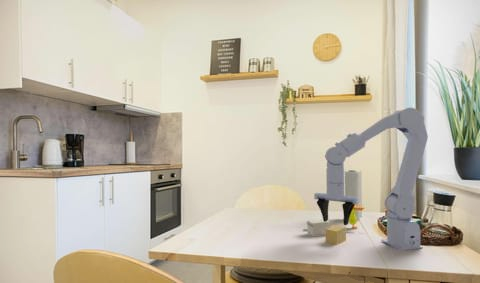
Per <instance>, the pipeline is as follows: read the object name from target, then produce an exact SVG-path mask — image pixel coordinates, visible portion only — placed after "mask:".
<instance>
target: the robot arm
mask: <svg viewBox="0 0 480 283" xmlns="http://www.w3.org/2000/svg"><path fill="white" fill-rule="evenodd" d="M394 128H396V129H397V130H398V131H399V132H402V134H403V135H404V137H406V139H407V142H406V145H405V150H404V153H403V156H402V157H403V158H402V160H401V163H400V168H399V171H398V175H397V178H396V182H395V185H394V186H393V187H392V189H391V190H390V193H389V195H388V196H387V197H386V198H385V200H384V205H385V208H386V209H387V210H388V211H387V214H386V231H387V232H386V238H383V239H381V240H380V241H381V242H383V243H385V244H387V245H390V246H391V247H393V248H396V249H398V250H400V251H409V250H419V249H423V246H422V245H421V227H420V225H419V223H418V222H416V221H414V220H413V216H414V214H415V211H416V210H415V209H416V207H415V199H416V198H415V194H414V188H415V185H416V180H417V178H418V174H419V170H420V167H421V162H422V160H423V155H424V152H425V148H426V144H427V141H428V137H429V136H428V133H427V132H428V131H427V128H426V125H425V117H424V115H423V114H422V113H421V112H420V111H419V110H418V109H417V108H415V107H406V108H404V109H400V110H396V111H394V112H393V113H390V114H389V115H386V116H383V118H381V119H379V120H378V121H376V123H374V124H372V125H371V126H369V127H368V128H366V129H365V130H364V131H362V132H361V133H357V132H356V133H355V132H354V133H352V134H351V133H349V134H347V135H346V138H343V139H342V140H341V141H339V142H336V143H335V142H334V145H335V146H331V147H330V148H328V149H327V150H326V151H325V155H324V157H325V160H326V173H325V174H326V175H325V176H326V177H325V178H326V193H323V192H322V193H321V192H316V193H314V200H317V201H316V205H317V207H318V208H319V210H320V213H321V216H322V219H323V221H324V222H326V221H329V202H338V203H339V202H340V203H342V204H341V207H342V211H343V225H344V226H347V225H349V217H350V214H351V212H352V209H353V207H354V206H355V204H358V197H352V196H346V195H345V169H344V163H345V161H346V158H350V157H351V156H353V155H354V154H356V153H357V152H359V151H361V150H362V149H364V148H365V147H366V142H368V141H369V140H372V138H375V137H376V136H378V135H380V134H382V132H385V131H387V130H388V129H394Z"/></svg>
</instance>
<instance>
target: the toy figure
mask: <svg viewBox="0 0 480 283" xmlns="http://www.w3.org/2000/svg"><path fill="white" fill-rule="evenodd" d="M364 209H365V208H364V207H363V206H362V207H359V206H356V204H355V206H354V207H353V209H352V212H351V215H350V217H349V221H348V223H349V224H350V225H352V227H351V229H353V230H354V229H355V230H357V229H358V226H356V224H357V222H358V220H357V217H356V216H355V210H362V211H364Z"/></svg>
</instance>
